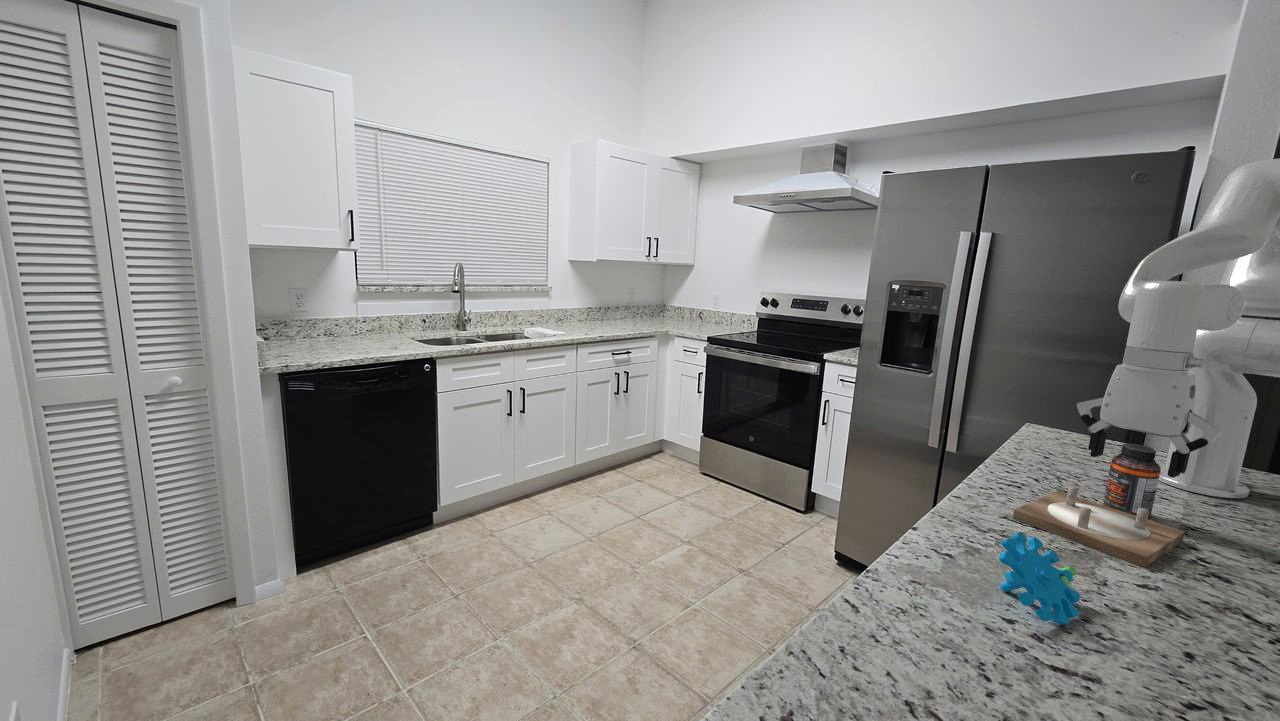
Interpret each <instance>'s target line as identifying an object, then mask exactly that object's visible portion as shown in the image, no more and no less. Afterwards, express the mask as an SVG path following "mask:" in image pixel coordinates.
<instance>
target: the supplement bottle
mask: <svg viewBox="0 0 1280 721" xmlns="http://www.w3.org/2000/svg"><path fill="white" fill-rule="evenodd" d="M1156 453H1157V450H1156V449H1155V448H1152V447H1149V446H1147V445H1142V444H1137V443H1124V444H1123V445H1122V448H1121V453H1119V454H1117V455H1115V456H1113V457H1112V459H1111V460H1110V461H1111V462H1110V467H1109V472H1108V477H1107V481H1106V482H1107V483H1106V486H1105V491H1104V496H1103V499H1102V500H1103V502H1102V505H1103V506H1106V507H1109V508H1112V509H1116V510H1119V511H1122V512H1125V513H1128V514H1131V515H1135V516H1137V511H1138V508H1144V509H1147V510H1149V514H1148V519H1150V518H1151V516H1152V512H1153V507H1154V502H1155V497H1156V494H1157V490H1158V485H1159V482H1160V481H1159V476H1160V471H1161V468H1160V467H1161V465H1160V464H1159V463H1158V462H1156V460H1155V459H1156Z"/></svg>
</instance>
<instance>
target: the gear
mask: <svg viewBox="0 0 1280 721" xmlns="http://www.w3.org/2000/svg"><path fill="white" fill-rule="evenodd" d="M1000 543H1001V545H1002V547H1003V548H1004V549H1005V551H1003V552H1001V553H1000V554H999V555H998V560H999V562H1000V563H1001V564H1003V565H1005V566H1007V567H1009V568H1010V569H1011V571H1007V572H1004V578H1005V582H1002V583H1000V585H999V586H1000V589H1001V590H1002V592H1004V593H1008V592H1012V591H1014V590H1019V589H1022V588H1023V589H1025V590H1026V591H1023V592H1020V593H1017V598H1018V600H1019V601H1020V603H1021V604H1022V606H1023V607H1028V606H1031V605H1034V603H1035V600H1037V601H1038V602H1039V604H1040V608H1036V609H1035V611H1034V612H1035V613H1034V614H1035V615H1036V616H1037V617H1038V618H1039V619H1040V620H1041V621H1043V622H1049V621H1052V620H1053V622H1054V624H1056V625H1060V626H1065V625H1070V619H1073V618H1077V617H1079V615H1080V614H1081V613H1080V611H1079V610H1078V608H1077V607H1076V606H1074V605H1073V604H1077V603H1079V602H1080V600H1081V594H1080V593H1079V592H1078V591H1077V590H1075V589H1073V588H1071V587H1070V586H1068V585H1070V582H1074V579H1073V577H1074V576H1077V574H1078V573H1077V571H1076V569H1075V567H1073V566H1071V565H1070V566H1067V567H1066V566H1065V567H1063V568H1060V569H1058V568H1057V567H1055V566H1053V565H1052V564H1056V563H1058V562H1060V561H1061V559H1060V557H1059V556H1058V554H1057V552H1056V551H1054V550H1053V549H1052V550H1048V551H1046V552H1044V555H1041V554H1040V553H1039V549H1041V548H1043V547H1044V544H1043V542H1042V541H1041V540H1040V539H1039V538H1037V537H1036V536H1033V537H1031V538H1027V536H1026V535H1025V534H1024V533H1021V532H1016V533H1014V534H1012V535H1011V538H1010V537H1009V538H1007V539H1004V540H1003V541H1001V542H1000ZM1026 544H1028V548H1027V545H1026ZM1052 610H1053V614H1052Z"/></svg>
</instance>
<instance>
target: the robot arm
mask: <svg viewBox="0 0 1280 721" xmlns="http://www.w3.org/2000/svg"><path fill="white" fill-rule="evenodd" d="M1211 200H1212V201H1211V203H1210V204H1209V206H1208V208H1207V209H1206V211H1205V212H1204V214H1203V216H1202V218H1201V220H1200V221H1199V223H1198V225H1197V226H1196V228H1195V229H1193V230H1191V231H1189V232H1187V233H1184V234H1182V235H1180V236H1178V237H1176V238H1174V239H1173V240H1171V241H1169V242H1167V243H1165V244H1164V245H1162V246H1160V247H1159V248H1156V249H1155V250H1154V251H1152V252H1150V253H1149V254H1148V255H1147V256H1145V257H1144V258H1143V259H1142V260H1141V261H1139V263H1138V265H1137V266H1136V267H1135V269H1134V270H1133V272H1132V274H1131V275H1130V277H1129V279H1128V280H1127V282H1126V283H1125V286H1124V287H1123V289H1122V292H1121V294H1120V297H1119V301H1118V306H1117V308H1118V309H1117V310H1118V312H1119V315H1120V317H1121V318H1122V319H1123V320H1125V322H1128V323H1130V325H1129V329H1128V335H1127V340H1126V346H1125V349H1124V354H1123V359H1122V363H1121V364H1118V365H1116V366H1115V369H1114V370H1113V373H1112V375H1111V376H1110V380H1109V382H1108V385H1107V388H1106V390H1105V394H1104V396H1103V397H1099V398H1094V399H1089V400H1084V401H1079V402H1077V403H1076V407H1077V410H1078V413H1079V414H1080V419H1081V421H1082V422H1083V423H1084V424H1085V425H1086V427H1087V429H1088V431H1089V432H1090V438H1089V443H1088V448H1087V449H1088V450H1089V451H1090V454H1089V456H1090V457H1091V458H1098V457H1100V456H1103V454H1104V452H1105V451H1104V450H1105V446H1106V443H1107V442H1106V441H1107V436H1108V434H1107V432H1106V431H1105V430H1106V429H1109V427H1111V426H1113V427H1117V428H1121V429H1124V430H1125V429H1126V430H1130V431H1134V432H1135V431H1136V432H1138V433H1139V432H1140V433H1143V434H1148V435H1153V436H1159V437H1163V438H1168V439H1169V440H1170V444H1169V449H1168V454H1167V456H1166V457H1167V458H1166V462H1165V466H1160V468H1161V471H1160V476H1159V481H1158V482H1161V483H1164V484H1166V485H1168V486H1172V487H1175V488H1178V489H1180V490H1184V491H1188V492H1192V493H1196V494H1200V495H1205V496H1209V497H1216V498H1223V499H1224V498H1225V499H1245V498H1247V497H1248V496H1249V495H1250V489H1249V487H1248V486H1246V485H1244V484H1242V483H1240V482H1239V480H1240V476H1241V472H1242V467H1243V463H1244V459H1245V455H1246V451H1247V447H1248V443H1249V442H1248V441H1249V437H1250V434H1251V429H1252V425H1253V421H1254V417H1255V412H1256V409H1257V404H1258V397H1257V393H1256V391H1255V389H1254V388H1253V386H1252V385H1251V383H1249V381H1248V380H1247V378H1246V377H1245V376H1244V375H1243V374H1248V375H1249V374H1250V375H1251V374H1253V375H1260V376H1267V377H1274V378H1280V320H1276V319H1265V318H1266V317H1268V318H1280V158H1273V159H1264V160H1258V161H1253V162H1249V163H1247V164H1244V165H1241V166H1240V167H1237V168H1236V169H1234V170H1232V171H1231V172H1230V173H1229V174H1228V175H1227V177H1226V178H1225V179H1224V180H1223V182H1222V183H1221V185H1220V188H1218V191H1217V192H1216V194H1215V195H1214V197H1213V199H1211ZM1227 262H1228V263H1227ZM1223 263H1227V266H1226V269H1225V270H1224V274H1223V275H1222V279H1221V280H1220V282H1210V281H1209V282H1207V281H1185V280H1181V281H1179V280H1171V279H1172V278H1174V277H1177V276H1179V275H1181V274H1183V273H1187V272H1191V271H1194V270H1198V269H1202V268H1207V267H1211V266H1215V265H1219V264H1223ZM1242 316H1254V317H1256V318H1253V317H1242ZM1257 317H1265V318H1257ZM1095 407H1100V412H1099V419H1100V420H1097V419H1096V417H1094V415H1093V414H1092V410H1091V409H1092V408H1095Z"/></svg>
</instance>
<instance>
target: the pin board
mask: <svg viewBox="0 0 1280 721" xmlns="http://www.w3.org/2000/svg"><path fill="white" fill-rule="evenodd" d="M1078 492H1079V488H1077V487H1075V486H1068V488H1067V493H1064V492H1062V491H1056V492H1052V493H1050V494H1047V495H1045V496H1043V497H1040V498H1038V499H1036V500H1033V501H1031V502H1028V503H1026V504H1024V505H1021V506H1019V507H1016V508H1014V509H1013V514H1012V519H1014V520H1017V521H1019V522H1022V523H1025V524H1027V525H1031V526H1033V527H1035V528H1038V529H1041V530H1044V531H1046V532H1048V531H1049V533H1051V532H1052V533H1051V534H1054V535H1056V534H1057V535H1056V536H1059V535H1060V536H1059V537H1061V538H1065V539H1067V540H1069V541H1071V542H1075V543H1078V544H1080V545H1083V546H1085V545H1086V547H1088V548H1091V549H1094V550H1096V551H1098V552H1102V553H1105V554H1107V555H1109V554H1110V556H1112V557H1115V558H1118V559H1120V560H1123V561H1125V562H1128V563H1131V564H1134V565H1136V566H1139V567H1141V568H1144V569H1145V568H1147V567H1148V566H1149V565H1151V564H1152V563H1154V562H1155V561H1156V560H1158V559H1159V558H1161V557H1162V556H1164V555H1165V554H1167V552H1169V551H1171V550H1172V549H1174V548H1176V546H1178V545H1179V544H1181V543H1182V542H1184V538H1185V533H1186V532H1185V531H1184V530H1181V529H1178V528H1176V527H1173V526H1169V525H1167V524H1162V523H1160V522H1156V521H1153V520H1150V519H1149V518H1148V514H1149V510H1147V509H1144V508H1138V511H1137V516H1135V515H1131V514H1128V513H1125V512H1122V511H1119V510H1116V509H1112V508H1109V507H1106V506H1103V504H1099V503H1097V502H1093V501H1090V500H1087V499H1084V498H1080V497H1078Z"/></svg>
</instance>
